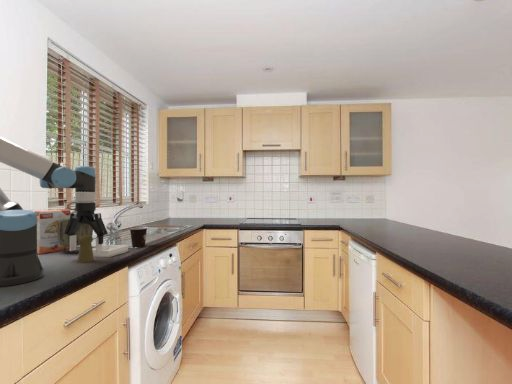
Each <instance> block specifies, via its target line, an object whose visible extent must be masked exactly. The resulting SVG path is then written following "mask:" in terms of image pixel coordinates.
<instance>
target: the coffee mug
mask: <svg viewBox="0 0 512 384" xmlns="http://www.w3.org/2000/svg"><path fill="white" fill-rule="evenodd" d="M129 230H130V238H131V239H130V241H131V247H132V248H133V249H136V248H135V247H141V248H144V247H143V246H145V247H146V243H147V242H146V240H147V234H148V233H147V232H148V228H147V227H139V226H138V227H131V228H129Z"/></svg>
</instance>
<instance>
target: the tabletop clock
mask: <svg viewBox="0 0 512 384" xmlns="http://www.w3.org/2000/svg"><path fill="white" fill-rule="evenodd" d="M76 203H77V202H76V201H71V202H70V203H68V204H67V210H71V213H77V211H76V210H75V208H70V207H69V206H70V205H72V204H76ZM77 219H78V218H77ZM69 220H70V216H68V217H64V218H62V219H60V221H59V223H58V230H57V235H58V241H59V244H60V245H62V246H65V247H64V249H62V251H61V252H62V253H64V252H66V251H67V250H66V247H67V246H70V243H69V236H68V235H67V234H65V233H64V232H65V230H66V227H67V225H68V222H69ZM68 231H69V230H68ZM93 233H94V230H93V229H92V227H91V226H90V225H89V224H82V225H81V226H80V227H79V229H78V230H77V232H76V233H75V234H76V250H73V253H75V254H76V253H78V250H77V247H80V243H79V238H80V237H81V236H84V235H90V236H92V237H93V236H94V235H93Z"/></svg>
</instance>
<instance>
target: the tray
mask: <svg viewBox="0 0 512 384" xmlns="http://www.w3.org/2000/svg"><path fill="white" fill-rule="evenodd" d="M92 251H93V257H94V258H95V257H97V258H111V257H114V256H118V255H121V254H125V253H128V252H129V245H128V244H127V245H123V244H104V245H102V251H101V252H96V247H92Z"/></svg>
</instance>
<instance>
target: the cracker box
mask: <svg viewBox="0 0 512 384" xmlns="http://www.w3.org/2000/svg"><path fill="white" fill-rule="evenodd" d="M34 212H35V213H36V215H37V219H38V222H37V255H42V254H47V253H48V254H49V253H55V252H62V249H64V247H65V246H62V245H60V244H59V241H58V235H57V230H58V223H59V221H60V219H62V218H64V217H68V216H70V214H71V212H72V210H70V209H47V210H34ZM68 250H69V251H70V246H67V247H66V251H68Z"/></svg>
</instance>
